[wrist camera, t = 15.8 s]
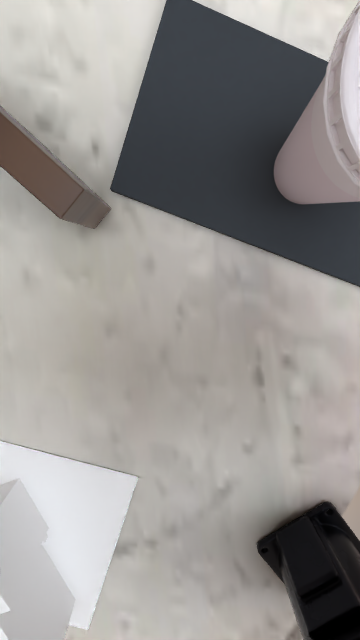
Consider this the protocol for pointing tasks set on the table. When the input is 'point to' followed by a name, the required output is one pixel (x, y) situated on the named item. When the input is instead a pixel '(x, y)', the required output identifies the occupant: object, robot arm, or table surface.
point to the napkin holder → (55, 540)
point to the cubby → (47, 176)
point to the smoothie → (327, 132)
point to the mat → (230, 139)
